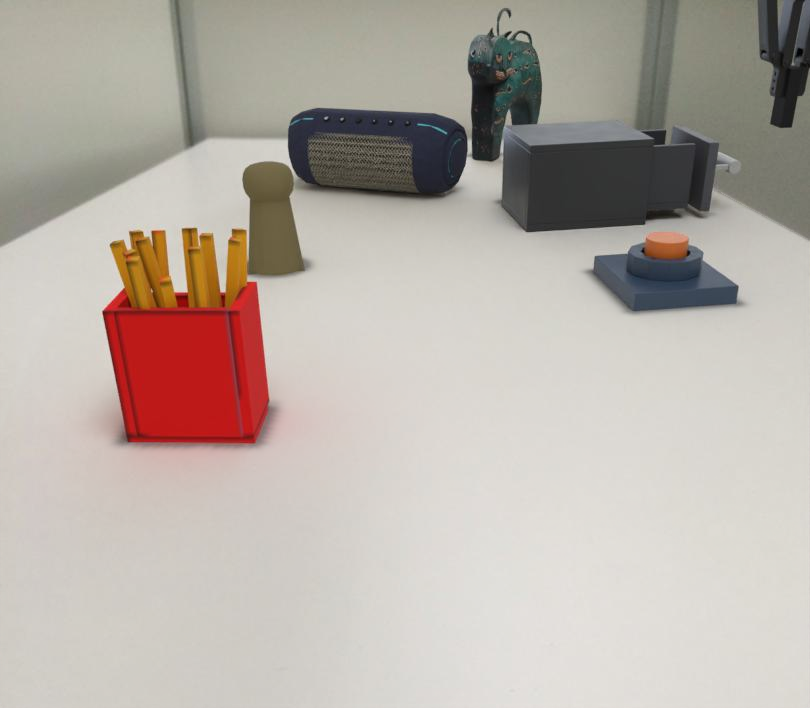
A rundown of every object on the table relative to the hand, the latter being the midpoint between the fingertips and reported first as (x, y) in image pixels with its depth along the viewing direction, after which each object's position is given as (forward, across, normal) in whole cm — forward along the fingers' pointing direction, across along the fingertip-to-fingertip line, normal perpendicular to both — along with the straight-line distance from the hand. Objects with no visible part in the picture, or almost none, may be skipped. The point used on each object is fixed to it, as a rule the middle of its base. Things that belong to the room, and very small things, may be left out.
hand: (780, 125), depth 118 cm
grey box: (+9, +26, 0) cm, 27 cm away
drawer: (+8, +15, 0) cm, 17 cm away
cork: (+9, +63, +15) cm, 65 cm away
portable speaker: (+10, +48, -19) cm, 52 cm away
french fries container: (+9, +70, +52) cm, 88 cm away
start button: (+5, +26, +30) cm, 40 cm away
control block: (+9, +26, +30) cm, 41 cm away
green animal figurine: (+10, +25, -40) cm, 48 cm away
